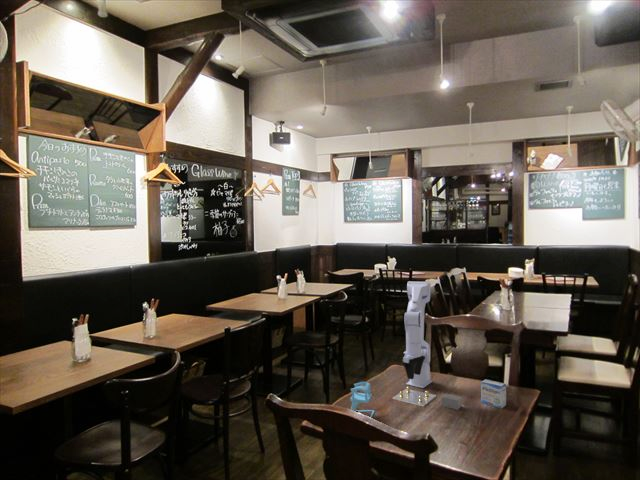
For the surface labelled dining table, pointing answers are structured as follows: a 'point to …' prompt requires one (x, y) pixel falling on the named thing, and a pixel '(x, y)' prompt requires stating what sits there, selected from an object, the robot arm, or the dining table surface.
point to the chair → (361, 396)
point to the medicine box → (493, 393)
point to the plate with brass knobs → (414, 397)
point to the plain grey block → (451, 401)
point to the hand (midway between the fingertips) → (414, 376)
